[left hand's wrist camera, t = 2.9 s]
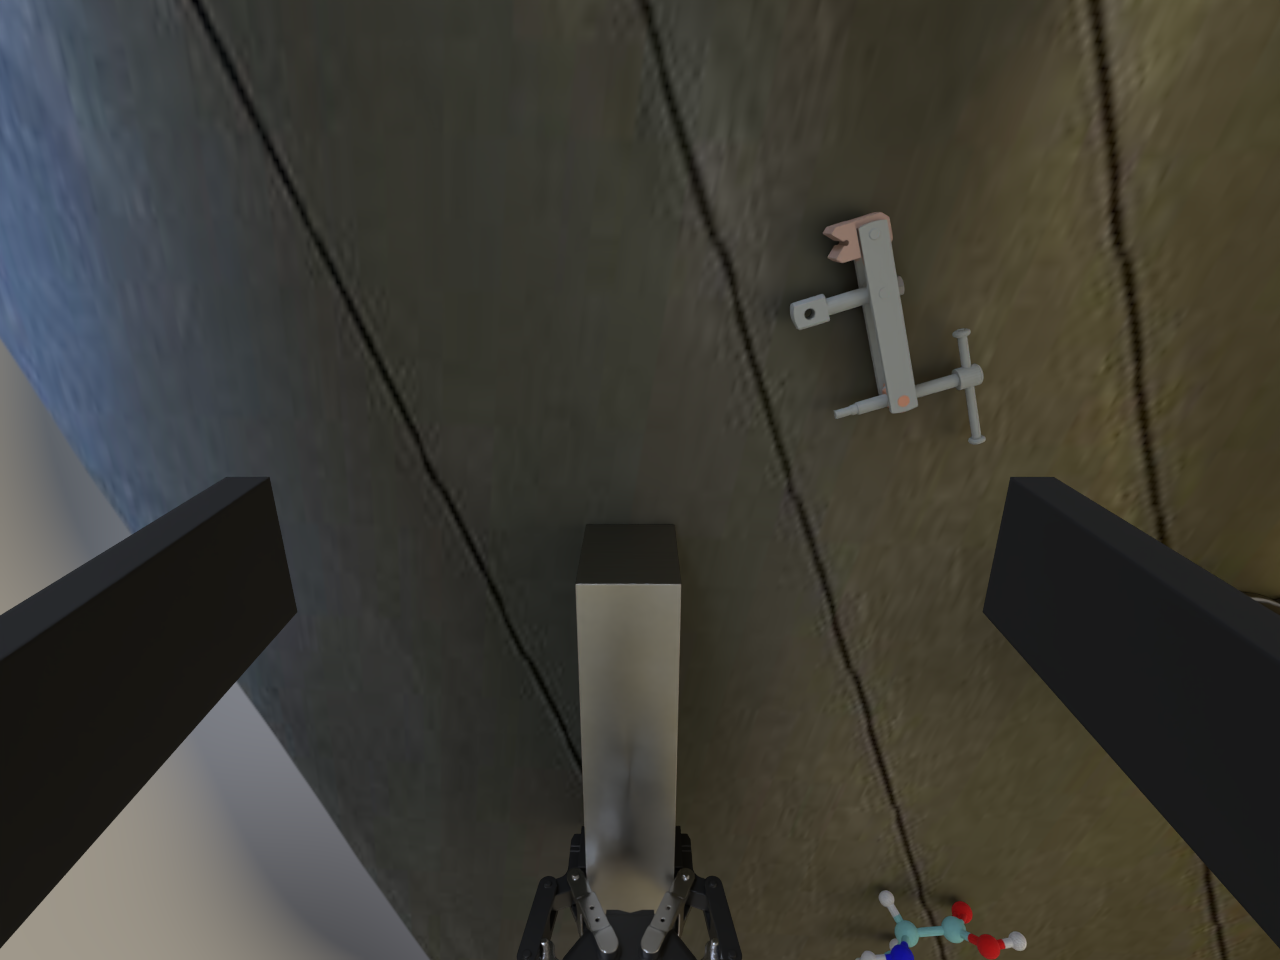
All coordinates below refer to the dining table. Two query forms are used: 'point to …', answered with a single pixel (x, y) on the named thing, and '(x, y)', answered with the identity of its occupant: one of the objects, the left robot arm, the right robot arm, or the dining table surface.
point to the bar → (629, 710)
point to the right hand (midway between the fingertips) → (631, 834)
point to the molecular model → (951, 928)
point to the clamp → (885, 322)
